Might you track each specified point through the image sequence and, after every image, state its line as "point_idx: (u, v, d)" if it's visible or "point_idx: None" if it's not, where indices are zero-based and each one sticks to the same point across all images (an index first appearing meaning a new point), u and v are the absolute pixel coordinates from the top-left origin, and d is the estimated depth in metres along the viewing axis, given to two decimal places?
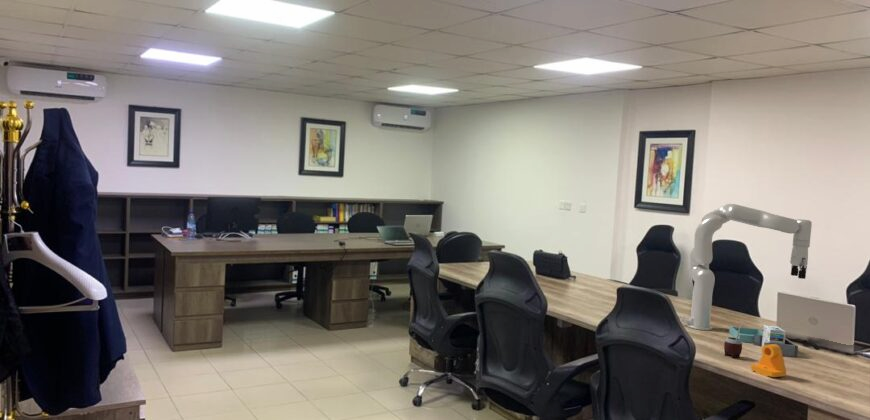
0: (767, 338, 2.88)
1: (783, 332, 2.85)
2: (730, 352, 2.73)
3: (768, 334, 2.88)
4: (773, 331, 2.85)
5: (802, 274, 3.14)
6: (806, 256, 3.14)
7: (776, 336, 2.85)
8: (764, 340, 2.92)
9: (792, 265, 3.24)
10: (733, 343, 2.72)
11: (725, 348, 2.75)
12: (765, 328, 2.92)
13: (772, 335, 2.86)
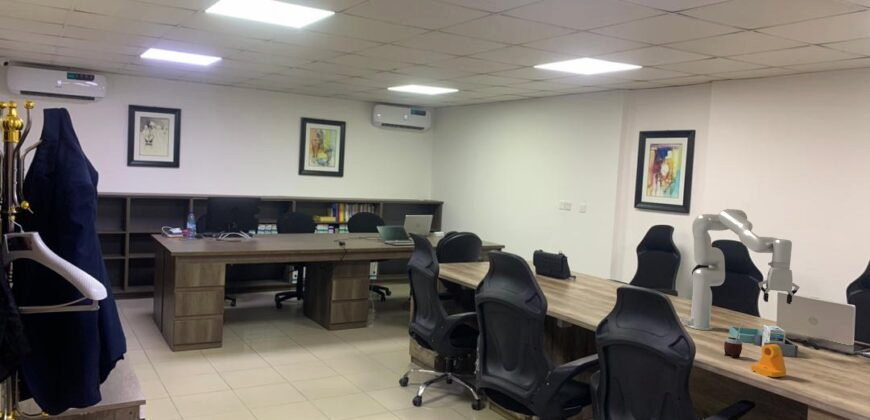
0: (767, 338, 2.88)
1: (783, 332, 2.85)
2: (730, 352, 2.73)
3: (768, 334, 2.88)
4: (773, 331, 2.85)
5: None
6: None
7: (776, 336, 2.85)
8: (764, 340, 2.92)
9: (768, 291, 2.89)
10: (733, 343, 2.72)
11: (725, 348, 2.75)
12: (765, 328, 2.92)
13: (772, 335, 2.86)
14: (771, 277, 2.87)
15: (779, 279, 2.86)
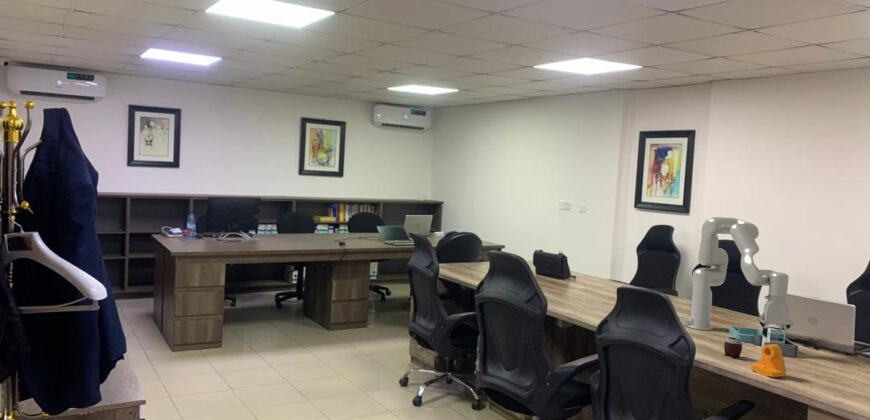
0: (767, 338, 2.88)
1: (783, 332, 2.85)
2: (730, 352, 2.73)
3: (768, 334, 2.88)
4: (773, 331, 2.85)
5: None
6: None
7: (776, 336, 2.85)
8: (764, 340, 2.92)
9: (766, 325, 2.89)
10: (733, 343, 2.72)
11: (725, 348, 2.75)
12: None
13: (772, 335, 2.85)
14: (768, 310, 2.88)
15: (775, 313, 2.87)
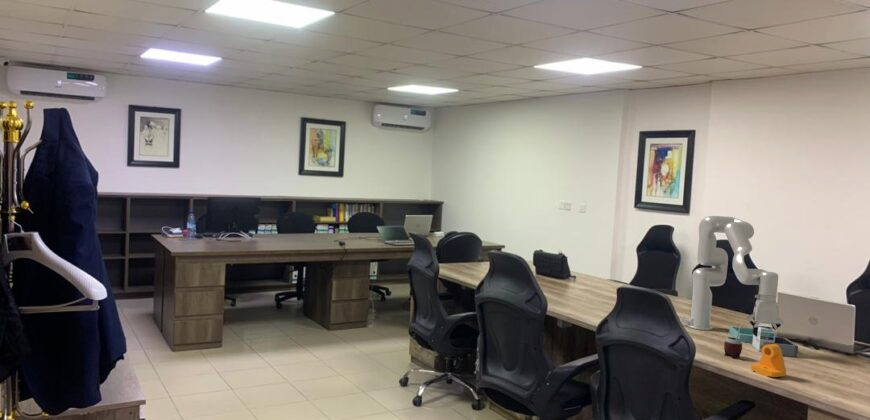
0: (758, 337, 2.89)
1: (773, 331, 2.85)
2: (730, 352, 2.73)
3: (758, 333, 2.88)
4: (763, 330, 2.86)
5: None
6: None
7: (766, 335, 2.86)
8: (755, 339, 2.92)
9: (756, 324, 2.90)
10: (733, 343, 2.72)
11: (725, 348, 2.75)
12: None
13: (762, 334, 2.86)
14: (758, 310, 2.89)
15: (766, 312, 2.88)
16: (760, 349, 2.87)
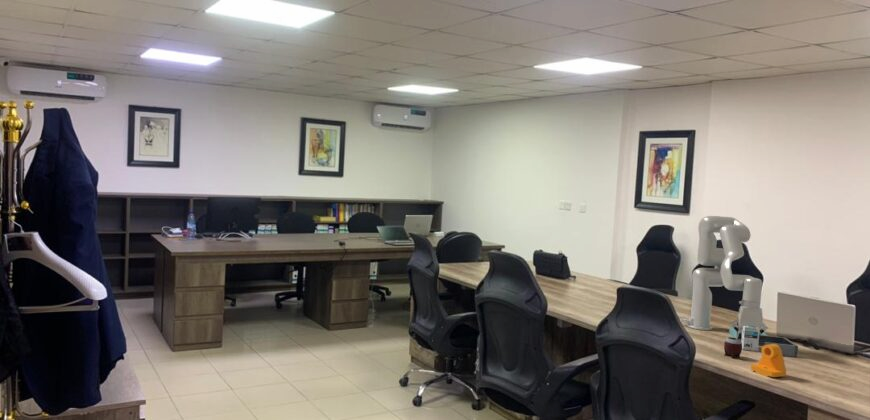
0: (742, 335, 2.90)
1: (757, 329, 2.86)
2: (730, 352, 2.73)
3: (743, 331, 2.90)
4: (747, 328, 2.87)
5: None
6: None
7: (750, 333, 2.87)
8: None
9: (740, 330, 2.92)
10: (733, 343, 2.72)
11: (725, 348, 2.75)
12: None
13: (746, 332, 2.87)
14: (741, 315, 2.90)
15: (749, 318, 2.89)
16: (744, 347, 2.88)
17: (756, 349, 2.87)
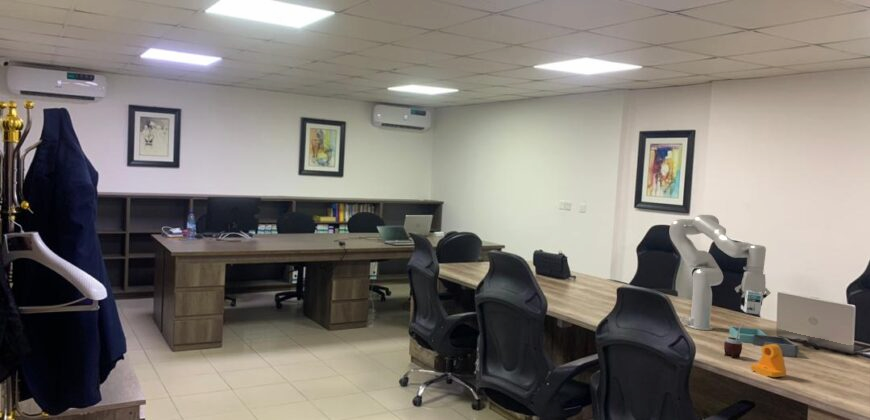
0: (745, 299, 3.04)
1: (760, 294, 3.00)
2: (730, 352, 2.73)
3: (746, 296, 3.03)
4: (750, 293, 3.01)
5: None
6: None
7: (753, 297, 3.01)
8: None
9: (744, 295, 3.05)
10: (733, 343, 2.72)
11: (725, 348, 2.75)
12: None
13: (749, 296, 3.01)
14: (745, 280, 3.04)
15: (753, 283, 3.03)
16: (747, 311, 3.02)
17: (758, 312, 3.01)
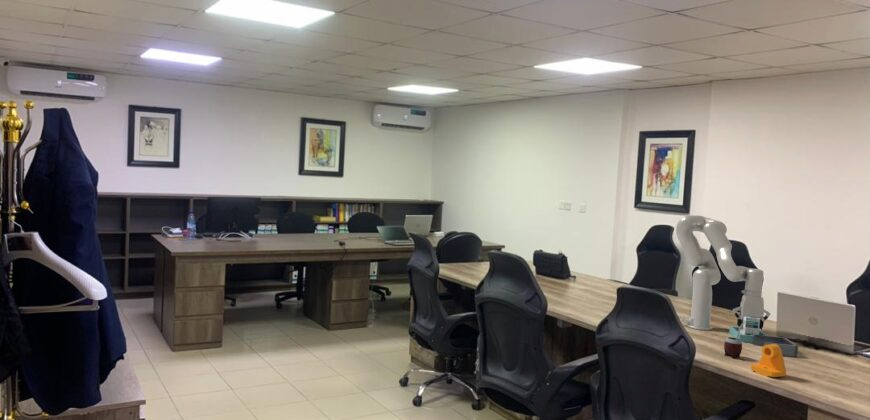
0: (743, 325, 3.09)
1: (758, 319, 3.05)
2: (730, 352, 2.73)
3: (744, 321, 3.08)
4: (748, 319, 3.06)
5: None
6: None
7: (751, 323, 3.06)
8: (741, 327, 3.12)
9: (741, 317, 3.10)
10: (733, 343, 2.72)
11: (725, 348, 2.75)
12: None
13: (747, 322, 3.06)
14: (744, 304, 3.08)
15: (751, 306, 3.08)
16: None
17: None
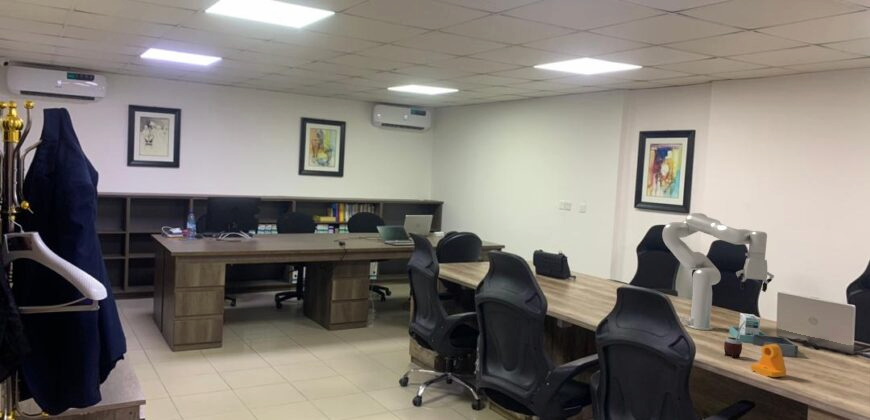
0: (743, 325, 3.09)
1: (758, 319, 3.05)
2: (730, 352, 2.73)
3: (744, 321, 3.08)
4: (748, 319, 3.06)
5: None
6: None
7: (751, 323, 3.06)
8: (741, 327, 3.12)
9: (744, 279, 3.09)
10: (733, 343, 2.72)
11: (725, 348, 2.75)
12: (741, 316, 3.13)
13: (747, 322, 3.06)
14: (747, 266, 3.07)
15: (755, 268, 3.07)
16: None
17: None
